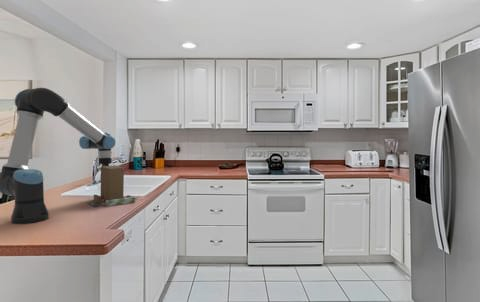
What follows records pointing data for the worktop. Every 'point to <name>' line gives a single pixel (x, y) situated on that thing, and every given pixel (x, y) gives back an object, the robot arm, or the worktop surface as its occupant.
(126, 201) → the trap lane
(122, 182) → the block
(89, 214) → the worktop surface
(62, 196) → the worktop surface
